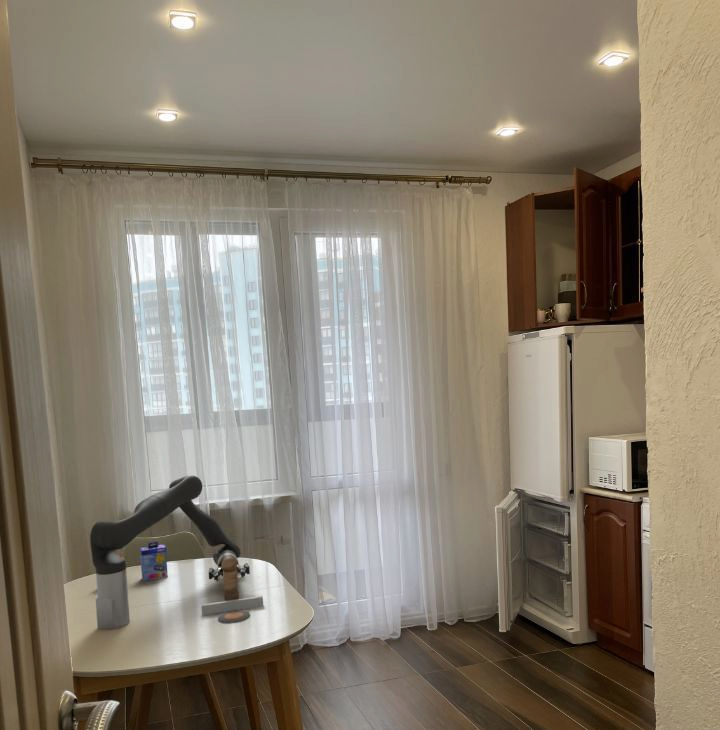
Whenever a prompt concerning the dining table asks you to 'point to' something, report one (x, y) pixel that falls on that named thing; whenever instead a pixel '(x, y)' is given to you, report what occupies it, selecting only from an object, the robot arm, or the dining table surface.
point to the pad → (233, 616)
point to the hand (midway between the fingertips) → (229, 576)
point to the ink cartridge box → (153, 561)
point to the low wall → (232, 605)
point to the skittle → (230, 578)
